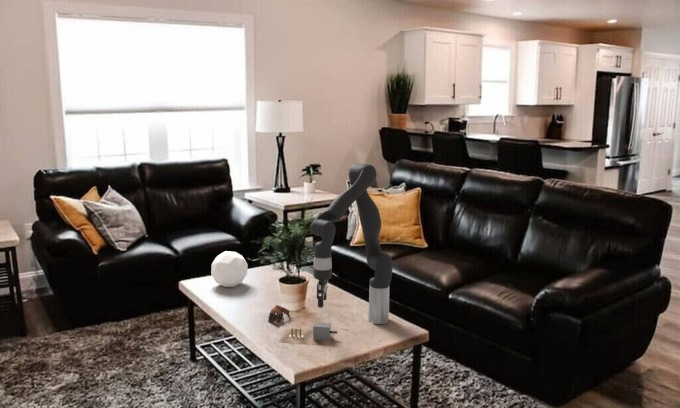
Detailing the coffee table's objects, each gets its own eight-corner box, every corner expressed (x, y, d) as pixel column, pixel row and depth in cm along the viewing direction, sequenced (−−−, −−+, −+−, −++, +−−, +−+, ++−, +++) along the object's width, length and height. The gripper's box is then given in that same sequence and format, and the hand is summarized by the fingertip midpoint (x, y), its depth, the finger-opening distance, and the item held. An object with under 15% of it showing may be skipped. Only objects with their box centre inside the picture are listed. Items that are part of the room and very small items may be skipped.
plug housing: (337, 336, 247) (338, 323, 246) (336, 341, 243) (336, 328, 242) (314, 335, 249) (315, 322, 247) (313, 339, 244) (313, 326, 243)
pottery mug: (265, 318, 270) (273, 302, 272) (283, 326, 272) (291, 310, 273) (267, 322, 259) (275, 305, 260) (286, 330, 260) (294, 313, 261)
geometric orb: (239, 298, 313) (252, 275, 301) (203, 288, 307) (215, 265, 295) (242, 272, 327) (254, 249, 316) (208, 262, 321) (219, 239, 309)
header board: (334, 335, 253) (334, 324, 252) (330, 349, 239) (330, 338, 238) (285, 331, 255) (285, 321, 254) (278, 345, 242) (278, 334, 241)
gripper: (329, 272, 232) (328, 310, 235) (333, 262, 246) (333, 298, 249) (310, 271, 233) (310, 309, 236) (316, 261, 247) (316, 297, 250)
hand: (322, 303), depth 243 cm, fingers open, 8 cm apart
